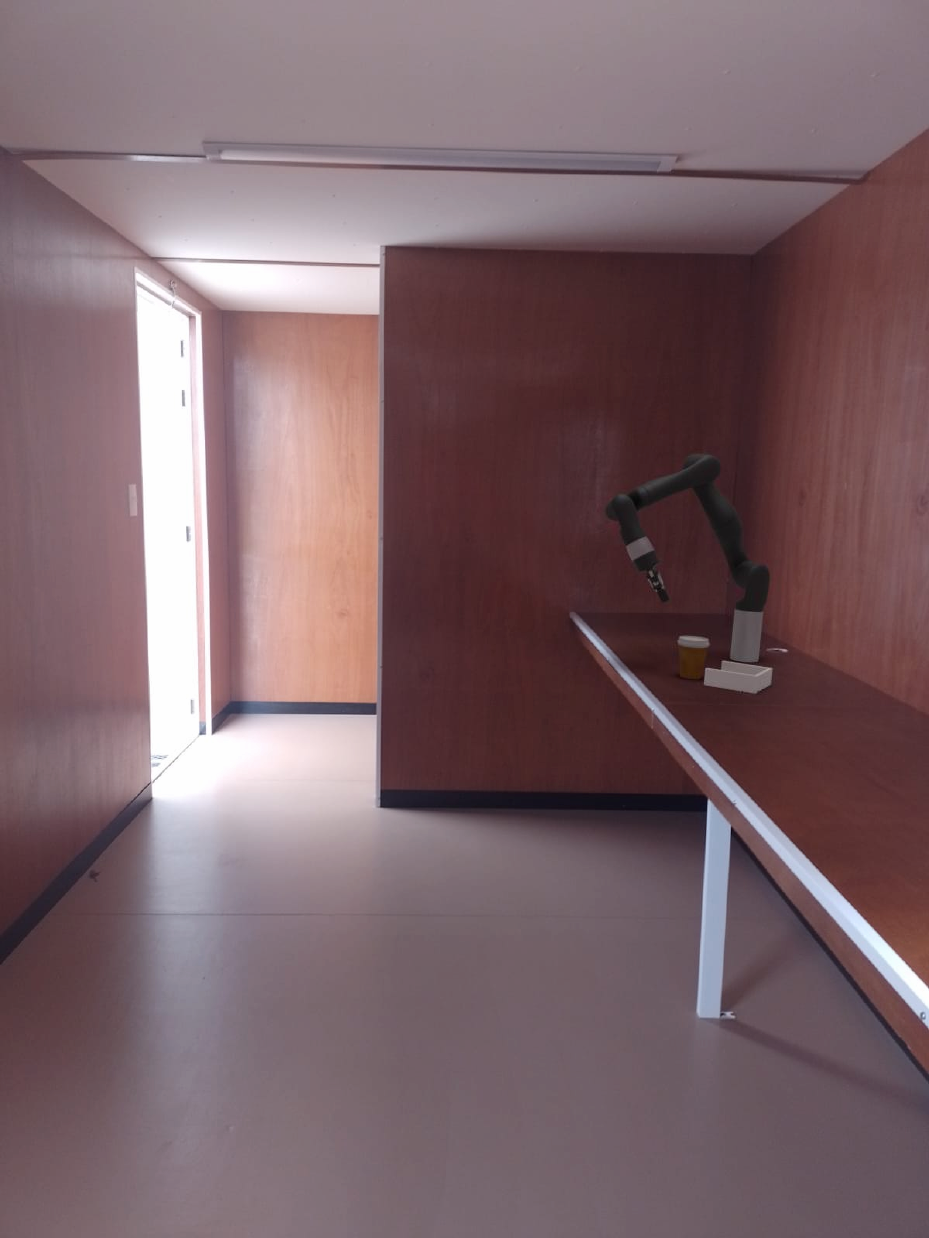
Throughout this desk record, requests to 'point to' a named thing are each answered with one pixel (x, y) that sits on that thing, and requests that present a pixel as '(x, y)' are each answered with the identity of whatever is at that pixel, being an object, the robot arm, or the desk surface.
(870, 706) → the desk surface
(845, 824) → the desk surface
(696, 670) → the disposable coffee cup
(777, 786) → the desk surface
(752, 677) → the grey bay
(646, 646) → the desk surface
